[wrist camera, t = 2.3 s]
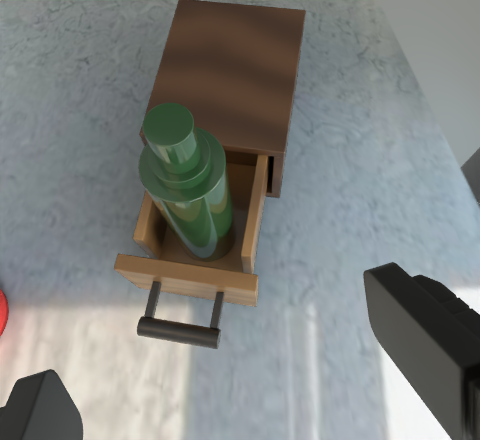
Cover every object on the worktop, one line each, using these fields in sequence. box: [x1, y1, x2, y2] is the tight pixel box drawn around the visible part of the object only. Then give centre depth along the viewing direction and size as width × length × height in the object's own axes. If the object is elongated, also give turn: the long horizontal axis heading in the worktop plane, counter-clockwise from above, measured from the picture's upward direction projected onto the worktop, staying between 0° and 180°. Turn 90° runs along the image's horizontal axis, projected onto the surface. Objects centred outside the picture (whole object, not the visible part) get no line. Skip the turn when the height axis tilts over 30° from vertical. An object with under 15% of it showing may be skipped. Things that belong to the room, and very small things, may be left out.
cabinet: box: [140, 0, 306, 198], centre depth 39 cm, size 15×12×9 cm
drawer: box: [114, 150, 271, 349], centre depth 34 cm, size 18×10×7 cm, turn 170°
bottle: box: [139, 103, 237, 262], centre depth 29 cm, size 5×5×17 cm
